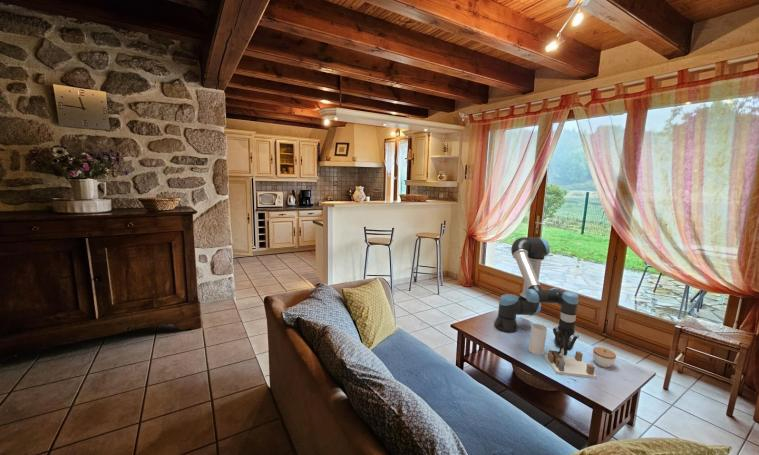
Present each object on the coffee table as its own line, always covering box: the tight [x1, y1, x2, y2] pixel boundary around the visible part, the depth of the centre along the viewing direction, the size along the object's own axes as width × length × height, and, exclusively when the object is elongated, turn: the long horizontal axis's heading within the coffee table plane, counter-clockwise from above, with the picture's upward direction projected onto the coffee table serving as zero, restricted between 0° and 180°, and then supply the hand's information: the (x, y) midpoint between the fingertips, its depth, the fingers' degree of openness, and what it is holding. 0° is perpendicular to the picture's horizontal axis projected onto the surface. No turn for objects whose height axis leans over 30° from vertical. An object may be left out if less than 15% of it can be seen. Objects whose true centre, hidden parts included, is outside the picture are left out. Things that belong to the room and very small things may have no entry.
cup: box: [528, 322, 548, 356], centre depth 193 cm, size 8×8×16 cm
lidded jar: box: [592, 346, 617, 368], centre depth 183 cm, size 11×11×9 cm
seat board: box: [544, 349, 598, 380], centre depth 179 cm, size 17×20×6 cm
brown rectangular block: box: [552, 350, 564, 367], centre depth 179 cm, size 9×3×5 cm, turn 168°
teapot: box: [552, 326, 573, 348], centre depth 203 cm, size 10×12×10 cm
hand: (562, 359), depth 181 cm, fingers closed
